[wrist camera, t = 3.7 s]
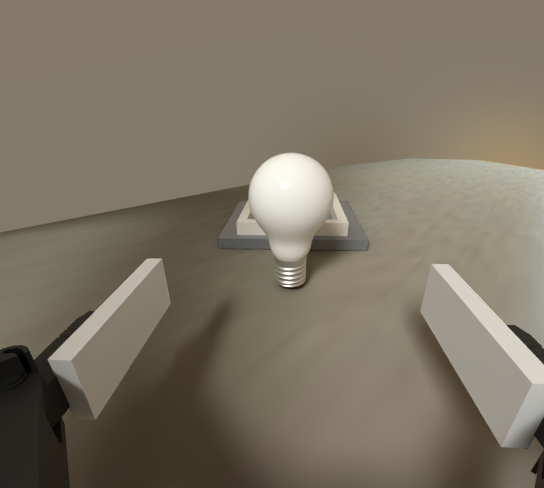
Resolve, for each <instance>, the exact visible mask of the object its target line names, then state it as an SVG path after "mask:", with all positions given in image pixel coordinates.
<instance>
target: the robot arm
mask: <svg viewBox="0 0 544 488" xmlns="http://www.w3.org/2000/svg"><path fill="white" fill-rule="evenodd" d="M170 304H171V302H170V297H169V292H168V287H167V282H166V277H165V272H164V267H163V262H162V259H154V258H147V259H146V260H145V261H144V262H143V263H142V264H141V265H140V266H139V267H138V268H137V269H136V270H135V271H134V272H133V273H132V274H131V275H130V276H129V277H128V278H127V279H126V280H125V281H124V282H123V283H122V285H121V286H120V287H119V288H118V289H117V290H116V291H115V292H114V293H113V294H112V295H111V296H110V297H109V298H108V299H107V300H106V301H105V302H104V303H103V304H102V305H101V306H100V307H99V308H98V309H97V310H96V311H89V312H87V313H86V314H84V315H82V316H81V317H79V318H78V319H76V320H75V321H74V322H73V323H72V324H71V325H70V326H69V327H68V328H67V330H65V331H64V332H63V333H62V334H61V335H60V337H59V338H57V339H55V340H54V341H53V342H52V343H51V344H50V345H49V346H48V347H47V348H46V349H45V350H44V351H43V352H42V353H41V354H40V355H39V356H38V357H37V358H36V359H35V360H33V358H32V355H31V353H30V351H29V349H28V347H25V346H23V345H18V346H11V347H7V348H3V349H1V350H0V488H70V485H69V473H68V461H67V449H66V436H65V424H64V422H63V420H62V416H63V415H64V414H65V412H66V411H67V410H68V408H69V407H70V410H71V412H72V414H73V416H74V418H75V419H86V420H96V419H97V417H98V416H99V414H100V413H101V411H102V410H103V408H104V406H105V405H106V403H107V402H108V400H109V399H110V397H111V396H112V394H113V392H114V391H115V389H116V388H117V386H118V385H119V383H120V382H121V380H122V378H123V377H124V375H125V374H126V372H127V371H128V369H129V368H130V366H131V365H132V363H133V361H134V360H135V358H136V357H137V355H138V354H139V352H140V351H141V349H142V347H143V346H144V344H145V343H146V341H147V340H148V338H149V337H150V335H151V333H152V332H153V330H154V329H155V327H156V326H157V324H158V323H159V321H160V319H161V318H162V316H163V315H164V313H165V312H166V310H167V309H168V307H169V305H170ZM420 312H421V314H422V315H423V317H424V319H425V320H426V322H427V324H428V325H429V327H430V329H431V330H432V332H433V334H434V335H435V337H436V339H437V340H438V342H439V344H440V345H441V347H442V349H443V350H444V352H445V354H446V356H447V357H448V359H449V361H450V362H451V364H452V366H453V367H454V369H455V371H456V372H457V374H458V376H459V377H460V379H461V381H462V382H463V384H464V386H465V387H466V389H467V391H468V392H469V394H470V396H471V398H472V399H473V401H474V403H475V404H476V406H477V408H478V409H479V411H480V413H481V414H482V416H483V418H484V419H485V421H486V423H487V424H488V426H489V428H490V429H491V431H492V433H493V435H494V436H495V438H496V440H497V441H498V443H499V445H500V446H501V447H507V448H522V449H528V447H529V445H530V444H531V442H532V440H533V438H534V436H535V437H536V438H537V439H538V441H539V442H540V444H541V445H542V446H543V448H544V349H542V346H541V345H540V344H539V343H538V342H537V341H536V340H535V339H534V338H533V337H532V336H531V335H530V334H528V333H526V332H525V331H523V330H522V329H520V328H518V327H517V326H515V325H506V324H505V323H504V322H503V321H502V320H501V319H500V318H499V317H498V316H497V315H496V314H495V313H494V312H493V311H492V310H491V309H490V308H489V306H488V305H487V304H486V303H485V302H484V301H483V300H482V299H481V298H480V297H479V296H478V295H477V294H476V293H475V292H474V291H473V290H472V289H471V288H470V286H469V285H468V284H467V283H466V282H465V281H464V280H463V279H462V278H461V277H460V276H459V275H458V274H457V273H456V272H455V271H454V270H453V269H452V268H451V266H450V265H449V264H431V268H430V273H429V277H428V281H427V285H426V290H425V294H424V298H423V302H422V307H421V311H420ZM531 472H533V473H534V474H536V473H537V478H536V484H535V488H544V450H543V452H542V454H541V455H540V457H539V459H538V460H537V462H536V464H535V466H534V467H533V469H532V471H531Z"/></svg>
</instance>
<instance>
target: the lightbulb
mask: <svg viewBox="0 0 544 488" xmlns="http://www.w3.org/2000/svg"><path fill="white" fill-rule="evenodd" d="M333 199H334V193H333V186H332V182H331V179H330V177H329V175H328V173H327V172H326V170H325V169H324V168H323V166H322V165H320V163H318V162H317V161H316V160H314V159H312V158H311V157H309V156H306V155H303V154H299V153H284V154H280V155H277V156H274V157H272V158H270V159H268V160H267V161H265V162H264V163H263V164H262V165H261V166H260V167H259V168H258V169H257V171H256V172H255V174H254V176H253V178H252V180H251V183H250V186H249V192H248V201H249V207H250V210H251V213H252V215H253V217H254V219H255V221H256V222H257V224H258V225H259V226H260V228H261V229H262V230H263V231H264V233H265V234H266V236H267V238H268V241H269V245H270V249H271V251H272V253H273V255H274V261H275V262H274V265H275V267H274V270H275V271H274V274H275V276H274V279H275V282H276V283H277V284H279V285H281V286H284V287H288V288H292V287H297V286H300V285H302V284H303V283H304V282H305V280H306V259H307V254H308V253H309V251H310V248H311V244H312V240H313V238H314V236H315V234H316V233H317V232H318V230H319V229H320V228H321V227H322V225H323V224H324V223H325V221H326V220H327V218H328V216H329V214H330V212H331V209H332V205H333Z"/></svg>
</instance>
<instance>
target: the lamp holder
mask: <svg viewBox="0 0 544 488" xmlns="http://www.w3.org/2000/svg"><path fill="white" fill-rule="evenodd" d="M217 240H218V248H229V249H270V245H269V241H268V238H267V236H266V234H265V233H264V231H263V230H262V229H261V228H260V226H259V225H258V224H257V222H256V221H255V219H254V217H253V215H252V213H251V210H250V207H249V201H240V202H239V203H238V205H237V207H236V208H235V210H234V211H233V213H232V215H231V216H230V218H229V220H228V221H227V223H226V225H225V226H224V228H223V230H222V231H221V233H220V235H219V236H218V238H217ZM367 248H368V238H367V236H366V235H365V233H364V231H363V229H362V227H361V225H360V223H359V221H358V220H357V218H356V216H355V214H354V212H353V210H352V208H351V206H350V205H349V203H348V201H339V200H338V198H337V196H336V193H334V199H333V205H332V209H331V212H330V214H329V216H328V218H327V220H326V221H325V223H324V224H323V225H322V227H321V228H320V229H319V230H318V232H317V233H316V234H315V236H314V238H313V240H312V244H311V248H310V250H359V251H367Z"/></svg>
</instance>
